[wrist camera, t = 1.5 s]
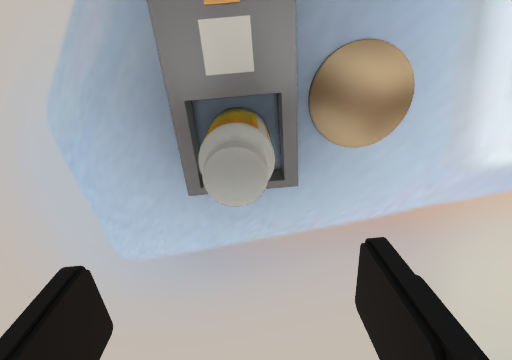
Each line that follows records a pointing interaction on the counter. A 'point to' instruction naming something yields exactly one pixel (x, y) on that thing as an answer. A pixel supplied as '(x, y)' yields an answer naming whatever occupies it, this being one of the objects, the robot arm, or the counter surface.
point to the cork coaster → (361, 93)
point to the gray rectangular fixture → (228, 68)
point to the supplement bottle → (236, 157)
